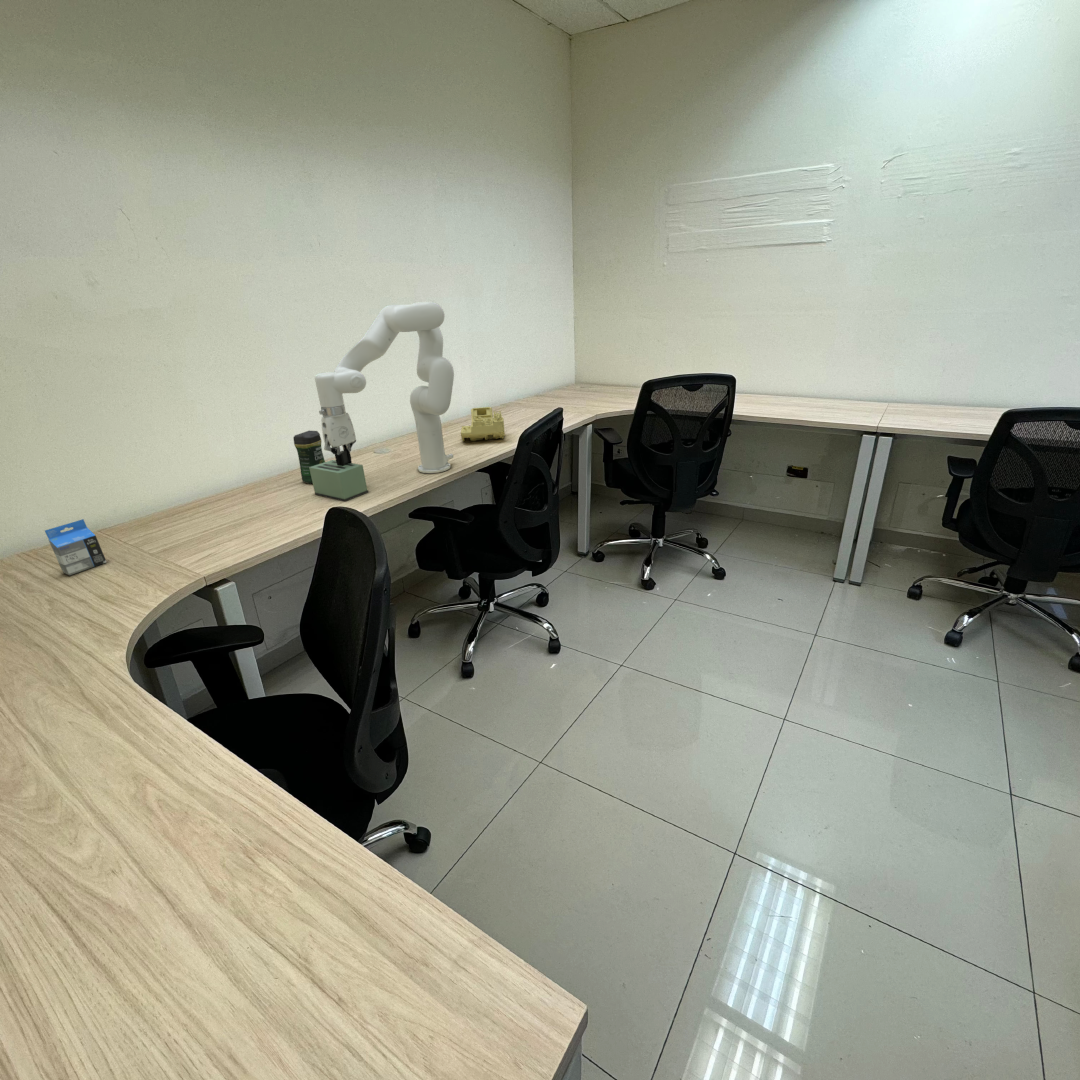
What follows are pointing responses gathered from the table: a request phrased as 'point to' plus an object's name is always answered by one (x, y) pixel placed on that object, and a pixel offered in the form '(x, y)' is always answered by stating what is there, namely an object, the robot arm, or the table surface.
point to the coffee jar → (308, 452)
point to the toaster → (338, 480)
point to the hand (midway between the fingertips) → (344, 463)
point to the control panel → (484, 425)
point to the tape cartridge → (75, 547)
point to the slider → (345, 456)
